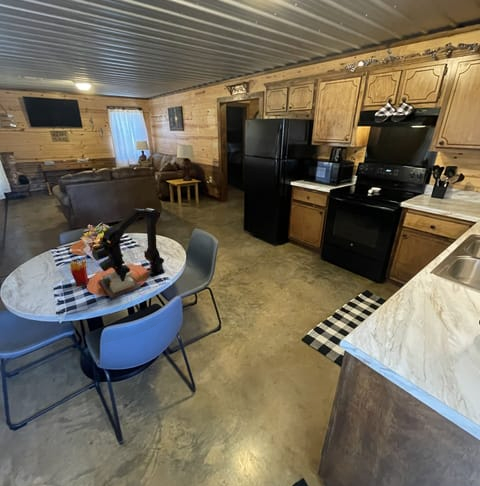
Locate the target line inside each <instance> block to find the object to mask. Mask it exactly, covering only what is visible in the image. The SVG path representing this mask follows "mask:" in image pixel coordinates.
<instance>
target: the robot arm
mask: <svg viewBox="0 0 480 486" xmlns="http://www.w3.org/2000/svg"><path fill="white" fill-rule="evenodd" d="M159 215H160V214H159V211H158V210H157V209H153V208H149V207H147V208H145V209H144V208H133V209H132V211H131V212H130V213H129V214H127V215H126V216H125V217H124V218H123V219H122V220H120V221H119V222H118V223H117V224H115V225H112V226H110V227H109V228H107V229H106V230H104V231H103V236H102V238H101V240H100V242H99V243H100V245H96V246H93V247H92V250H91V255H92V257H93V260H94V261H100V260H102V259H104V260H102V261H101V262H99V263H98V266H99V267H100V268H101V270H102V271H103V272H106V271H108V270H109V269H113V270H114V272H115V273H116V274H117V275H119V276H120V279H121V281H122V282H123V281H124V280H125V277H126V274H127V273H128V272H131V269H130V266H128V265H126V262H125V261H124V258H123V257H124V254H123V253H122V248H121V245H122V244H124V242H125V241H123V240H121V238H123V236H124V233H125V231H127V230H128V229H129V228H130V227H131V226H132V225H134V223H135V222H136V221H137V220H138V219H140V218H141V217H142V218H143V220H144V222H145V224H146V238H147V239H146V241H147V248H146V250H143V254H144V256H143V257H144V258H145V260H146V261H147V262H148V263H149V264H150V265H149V269H150V272H151V273H152V274H153V275H158V274H161V273H163V272H165V269H164V267H163V265H164V263H165V259H164V258H163V257H161V255H160V251H159V249H158V247H157V223H158V221H159Z"/></svg>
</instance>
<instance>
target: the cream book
mask: <svg viewBox="0 0 480 486" xmlns="http://www.w3.org/2000/svg"><path fill="white" fill-rule="evenodd" d="M112 273H113V272H112ZM108 276H109V279H110V280H111V282H112V283H114V282H117V281H120V280H121V279H120V276H119V275H117V274H116V273H113V274H110V275H108ZM129 277H133V275H132V272H131V271H130V272H128V273H127V274H126V277H125V279H126V278H129Z"/></svg>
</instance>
